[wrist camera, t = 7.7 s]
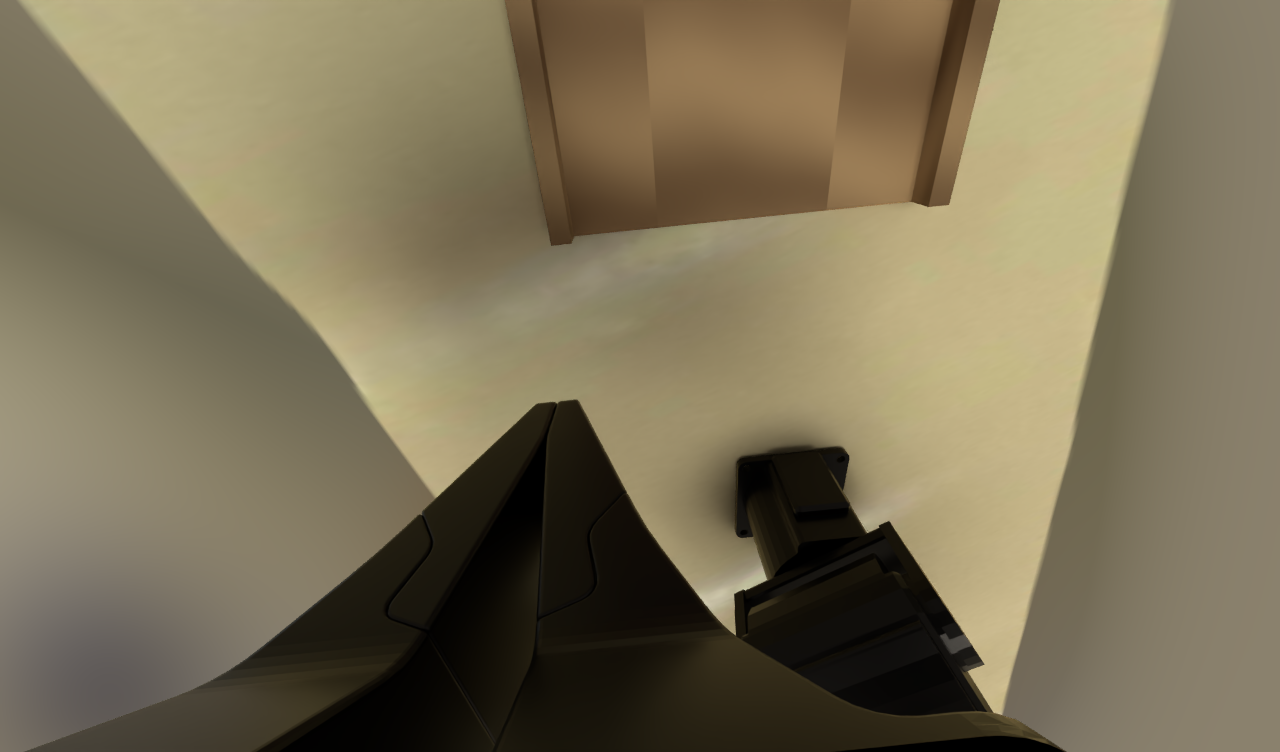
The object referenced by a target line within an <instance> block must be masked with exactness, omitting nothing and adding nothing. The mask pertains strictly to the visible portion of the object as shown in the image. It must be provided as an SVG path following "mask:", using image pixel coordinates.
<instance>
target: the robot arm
mask: <svg viewBox="0 0 1280 752" xmlns="http://www.w3.org/2000/svg"><path fill="white" fill-rule="evenodd" d="M839 456H841V457H839ZM838 457H839V458H838ZM848 463H849V455H848V454H847V452H846V451H845V449H842V448H836V449H826V450H816V451H806V452H796V453H786V454H776V455H766V456H756V457H746V458H742V459H740V460H739V461H738V462H737V469H736V505H735V531H736V534H737V536H738V537H741V538H746V537H754V540H755V543H756V546H757V549H758V553H759V556H760V559H761V562H762V565H763V568H764V571H765V574H766V577H767V581H765V582H763V583H761V584H758V585H756V586H754V587H752V588H750V589H748V590H746V591H745V590H744V589H743V590H741V591H739V592H737V593H735V594H734V598H735V626H736V636H735V635H734V634H733V633H731V632H730V631H729V630H728V629H727V628H726V627H725V626H724V625H723V624H722V623H721V622H720V621H719V620H718V619H717V618H716V617H715V616H714V615H713V613H712V612H711V611H710V610H709V609H708V607H707V606H706V605H705V604H704V602H703V601H702V600H701V599H700V597H699V596H698V595H697V593H696V592H695V591H694V590H693V588H692V587H691V586H690V584H689V583H688V582H687V580H686V579H685V578H684V577H683V575H682V574H681V573H680V571H679V570H678V569H677V568H676V566H675V565H674V564H673V562H672V561H671V560H670V558H669V557H668V556H667V555H666V553H665V552H664V551H663V549H662V548H661V547H660V545H659V544H658V542H657V541H656V540H655V538H654V537H653V535H652V534H651V533H650V531H649V530H648V528H647V527H646V525H645V523H644V522H643V520H642V518H641V517H640V515H639V513H638V511H637V510H636V508H635V506H634V504H633V503H632V501H631V499H630V497H629V495H628V494H627V492H626V490H625V488H624V486H623V484H622V482H621V480H620V478H619V476H618V474H617V473H616V471H615V469H614V467H613V465H612V463H611V461H610V459H609V457H608V455H607V454H606V452H605V450H604V448H603V446H602V444H601V442H600V440H599V438H598V436H597V435H596V433H595V431H594V429H593V427H592V425H591V423H590V421H589V419H588V417H587V416H586V414H585V412H584V410H583V408H582V406H581V404H580V402H579V401H578V400H567V401H560V402H558V404H557V403H556V402H548V403H538V404H536V405H535V406H534V407H533V408H531V409H530V410H529V411H528V412H527V413H526V414H525V415H524V416H523V417H522V418H521V419H520V420H519V421H518V422H517V423H516V424H514V425H513V426H512V427H511V428H510V429H509V430H508V431H507V432H506V433H505V434H504V435H503V436H502V437H501V438H500V439H498V440H497V441H496V442H495V443H494V444H493V445H492V446H491V447H490V448H489V449H488V450H487V451H486V452H485V453H484V454H483V455H481V456H480V457H479V458H478V459H477V460H476V461H475V462H474V463H473V464H472V465H471V466H470V467H469V468H468V469H467V470H466V471H464V472H463V473H462V474H461V475H460V476H459V477H458V478H457V479H456V480H455V481H454V482H453V483H452V484H451V485H450V486H449V487H447V488H446V489H445V490H444V491H443V492H442V493H441V494H440V495H439V496H438V497H437V498H436V499H435V500H434V501H433V502H432V503H431V504H429V505H428V506H427V507H426V508H425V509H424V510H423V511H422V515H418V516H417V517H416V518H414V519H413V520H412V521H411V522H410V523H409V524H408V525H407V526H406V527H405V528H404V529H403V530H402V531H400V532H399V533H398V534H397V535H396V536H395V537H394V538H393V539H392V540H391V541H389V542H388V543H387V544H386V545H385V546H384V547H383V548H382V549H380V550H379V551H378V552H377V553H376V554H375V555H374V556H373V557H371V558H370V559H369V560H368V561H367V562H365V563H364V564H363V565H362V566H361V567H360V568H358V569H357V570H356V571H355V572H353V573H352V574H351V575H350V576H349V577H347V578H346V579H345V580H344V581H343V582H341V583H340V584H339V585H338V586H336V587H335V588H334V589H333V590H332V591H330V592H329V593H328V594H327V595H325V596H324V597H323V598H322V599H321V600H319V601H318V602H317V603H316V604H314V605H313V606H312V607H311V608H309V609H308V610H307V611H306V612H305V613H303V614H302V615H301V616H299V617H298V618H297V619H296V620H295V621H294V622H292V623H291V624H290V625H288V626H287V627H286V628H285V629H284V630H282V631H281V632H280V633H279V634H277V635H276V636H275V637H274V638H272V639H271V640H270V641H269V642H267V643H266V644H265V645H264V646H263V647H261V648H260V649H259V650H257V651H256V652H255V653H253V654H252V655H251V656H249V657H248V658H247V659H245V660H244V661H243V662H241V663H240V664H238V665H236V666H235V667H234V668H232V669H231V670H229V671H227V672H226V673H224V674H222V675H220V676H218V677H217V678H215V679H213V680H211V681H210V682H207V683H205V684H203V685H201V686H199V687H197V688H195V689H193V690H191V691H188V692H186V693H183V694H181V695H178V696H176V697H173V698H170V699H167V700H165V701H162V702H159V703H157V704H154V705H151V706H148V707H146V708H143V709H140V710H137V711H135V712H132V713H129V714H126V715H124V716H121V717H118V718H115V719H113V720H110V721H107V722H105V723H102V724H99V725H96V726H93V727H91V728H88V729H85V730H82V731H80V732H77V733H74V734H72V735H69V736H66V737H63V738H61V739H58V740H55V741H53V742H50V743H47V744H44V745H42V746H39V747H36V748H34V749H30V750H28V751H25V752H1066V751H1064V750H1063V749H1061V748H1060V747H1058V746H1057V745H1055V744H1054V743H1052V742H1051V741H1049V740H1048V739H1046V738H1045V737H1043V736H1042V735H1040V734H1038V733H1037V732H1035V731H1034V730H1032V729H1031V728H1029V727H1028V726H1026V725H1024V724H1023V723H1021V722H1020V721H1018V720H1016V719H1012V718H1009V717H1006V716H1003V715H1000V714H996V713H993V711H992V710H991V708H990V706H989V705H988V703H987V702H986V700H985V698H984V697H983V695H982V694H981V692H980V691H979V689H978V687H977V686H976V684H975V683H974V681H973V679H972V678H971V676H970V675H969V673H968V672H967V671H969V670H971V669H974V668H976V667H979V666H982V665H985V664H984V663H983V661H982V660H981V658H980V657H979V655H978V654H977V652H976V651H975V649H974V648H973V646H972V644H971V643H970V641H969V640H968V638H967V637H966V635H965V634H964V632H963V631H962V629H961V628H960V626H959V625H958V623H957V622H956V620H955V618H954V617H953V615H952V614H951V612H950V611H949V609H948V608H947V606H946V605H945V603H944V602H943V600H942V599H941V597H940V596H939V594H938V593H937V591H936V590H935V588H934V587H933V585H932V584H931V582H930V581H929V579H928V578H927V576H926V575H925V573H924V572H923V570H922V569H921V567H920V566H919V564H918V563H917V562H916V560H915V559H914V557H913V556H912V554H911V553H910V551H909V550H908V548H907V547H906V545H905V544H904V542H903V541H902V539H901V538H900V536H899V535H898V534H897V532H896V531H895V529H894V528H893V526H892V525H891V523H890V522H889V521H888V522H886V523H883V524H881V525H879V527H880V528H878V529H875V530H873V531H871V532H869V533H867V532H866V531H865V529H864V527H863V526H862V524H861V522H860V520H859V519H858V517H857V515H856V514H855V512H854V510H853V509H852V507H851V505H850V502H849V501H848V499H847V497H846V496H845V494H844V492H843V488H844V483H845V478H846V473H847V468H848ZM746 465H748V466H747V467H744V466H746Z"/></svg>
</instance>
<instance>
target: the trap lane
mask: <svg viewBox="0 0 1280 752" xmlns="http://www.w3.org/2000/svg"><path fill="white" fill-rule="evenodd" d="M505 3H506V9H507V14H508V19H509V25H510V30H511V35H512V40H513V46H514V51H515V56H516V62H517V67H518V72H519V77H520V83H521V88H522V93H523V99H524V104H525V109H526V114H527V120H528V125H529V130H530V136H531V141H532V146H533V151H534V157H535V162H536V167H537V173H538V178H539V183H540V188H541V194H542V199H543V204H544V210H545V215H546V220H547V225H548V231H549V236H550V241H551V246H552V245H562V244H571V243H572V241H573V238H574V236H580V235H590V234H599V233H609V232H619V231H629V230H638V229H648V228H658V227H668V226H677V225H687V224H697V223H707V222H716V221H726V220H736V219H746V218H755V217H765V216H775V215H785V214H794V213H804V212H814V211H824V210H833V209H843V208H853V207H863V206H873V205H882V204H892V203H902V202H914V203H917V204H921V205H924V206H927V207H933V206H942V205H949V203H950V199H951V195H952V191H953V187H954V183H955V179H956V175H957V171H958V167H959V163H960V159H961V155H962V151H963V147H964V143H965V139H966V135H967V131H968V127H969V123H970V119H971V115H972V111H973V107H974V103H975V99H976V95H977V91H978V87H979V83H980V79H981V75H982V71H983V67H984V63H985V59H986V55H987V51H988V47H989V43H990V39H991V35H992V31H993V27H994V23H995V19H996V15H997V11H998V7H999V3H1000V0H505Z"/></svg>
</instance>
